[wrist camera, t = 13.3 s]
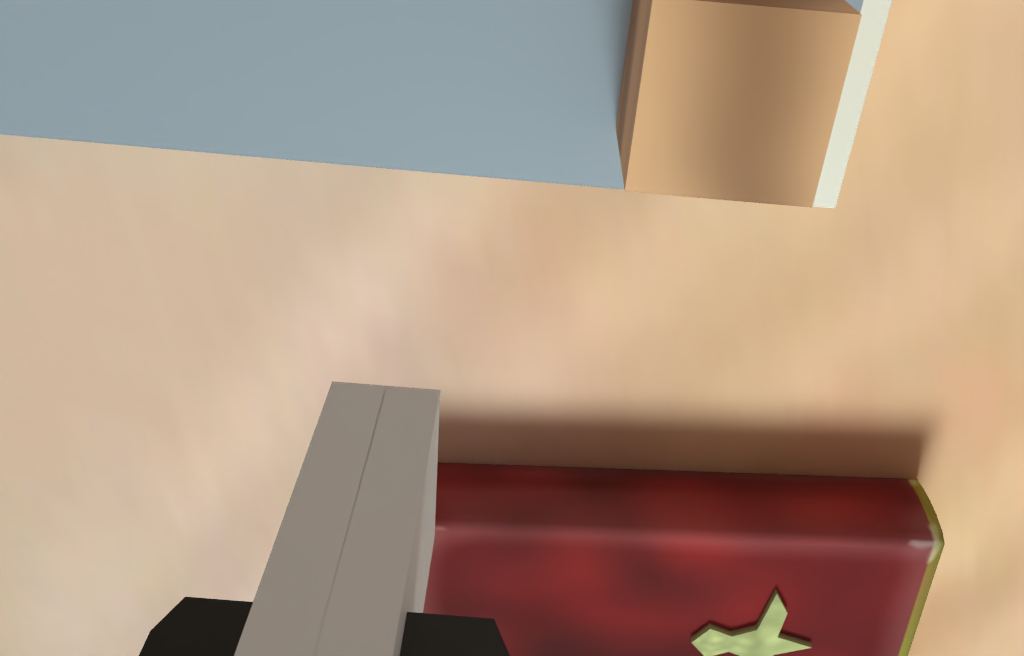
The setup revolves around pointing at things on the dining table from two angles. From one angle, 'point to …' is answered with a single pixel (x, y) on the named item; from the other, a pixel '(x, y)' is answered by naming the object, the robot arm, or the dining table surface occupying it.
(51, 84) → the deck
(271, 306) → the dining table surface
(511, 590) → the hardcover book
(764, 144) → the block
